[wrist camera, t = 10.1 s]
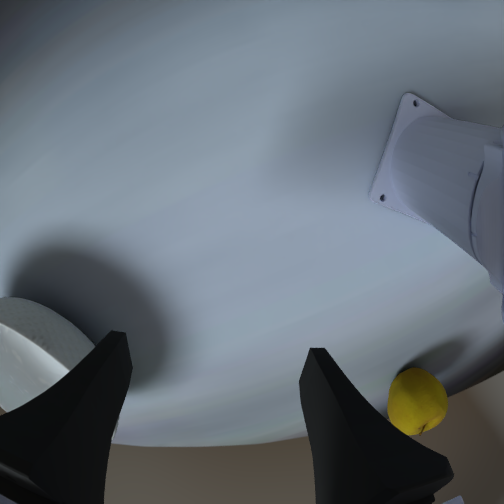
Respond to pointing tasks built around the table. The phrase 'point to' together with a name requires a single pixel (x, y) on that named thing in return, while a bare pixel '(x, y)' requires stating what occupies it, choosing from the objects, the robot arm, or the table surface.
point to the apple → (416, 401)
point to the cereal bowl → (35, 350)
